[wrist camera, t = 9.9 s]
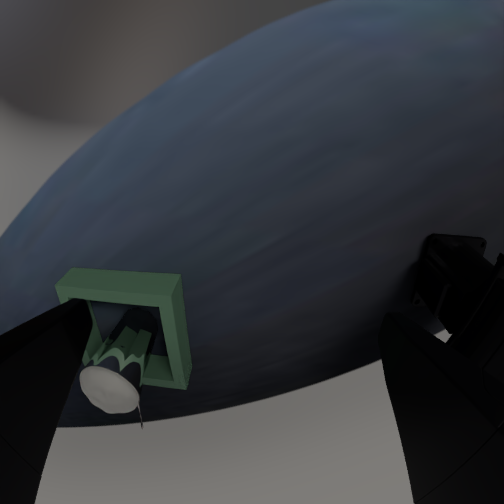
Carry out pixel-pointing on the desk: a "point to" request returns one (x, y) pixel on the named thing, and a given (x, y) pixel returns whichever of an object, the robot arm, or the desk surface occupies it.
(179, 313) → the green square frame
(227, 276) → the desk surface
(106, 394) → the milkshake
